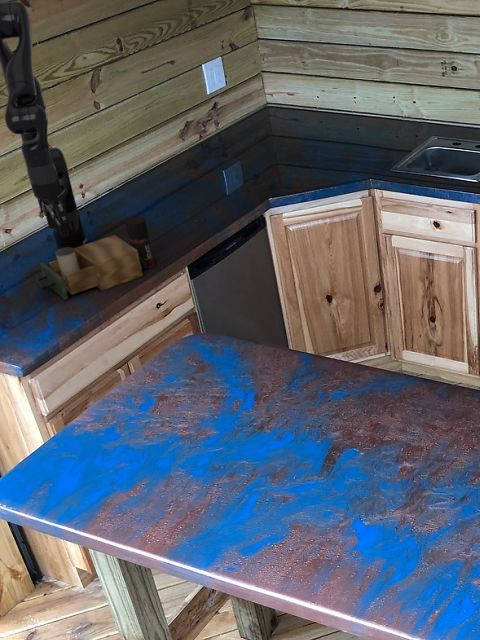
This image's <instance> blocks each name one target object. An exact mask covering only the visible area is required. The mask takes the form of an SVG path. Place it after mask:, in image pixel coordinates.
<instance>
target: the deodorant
mask: <svg viewBox="0 0 480 640" xmlns="http://www.w3.org/2000/svg"><path fill="white" fill-rule="evenodd" d="M124 224H125V228H126V232H127V236H128V240H129V241H128V242H129V245H130V246H132V247H133V248H135V249H136V250H137V252H138V256H139V260H140V265H141V269H142V270H148V269H151V268H153V267H155V265H156V262H155V258H154V257H155V256H154V253H153V248H152V245H151V241H150V235H149V231H148V227H147V222H146V219H145V217H144V216H132V217H128V218H127V219H125V221H124Z"/></svg>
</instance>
